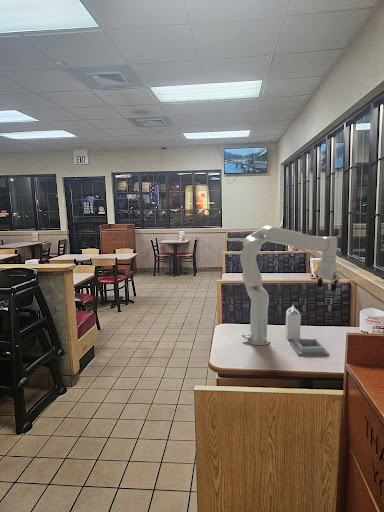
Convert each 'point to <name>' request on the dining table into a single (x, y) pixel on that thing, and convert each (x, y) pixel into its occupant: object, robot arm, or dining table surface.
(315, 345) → the carton tray
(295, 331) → the milk carton
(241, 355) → the dining table surface
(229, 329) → the dining table surface
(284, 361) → the dining table surface
